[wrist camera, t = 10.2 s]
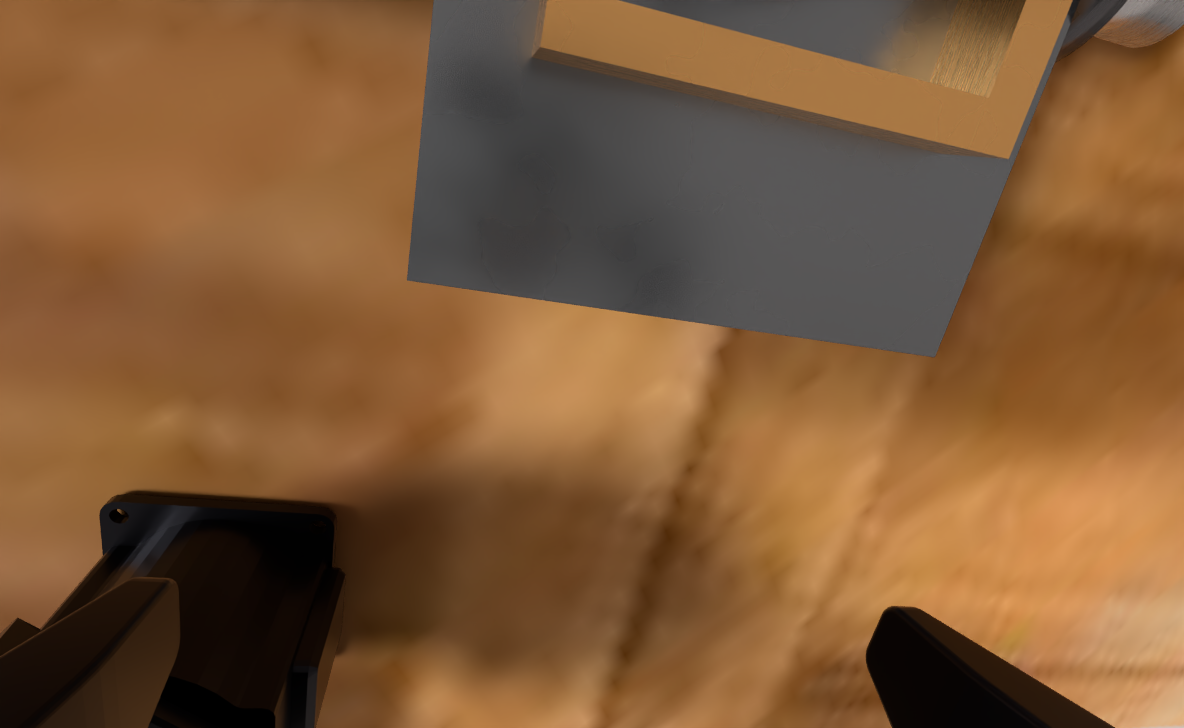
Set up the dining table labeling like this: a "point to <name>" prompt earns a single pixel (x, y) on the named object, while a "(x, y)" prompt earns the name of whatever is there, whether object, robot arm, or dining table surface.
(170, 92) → the dining table surface
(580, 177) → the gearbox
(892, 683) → the robot arm
